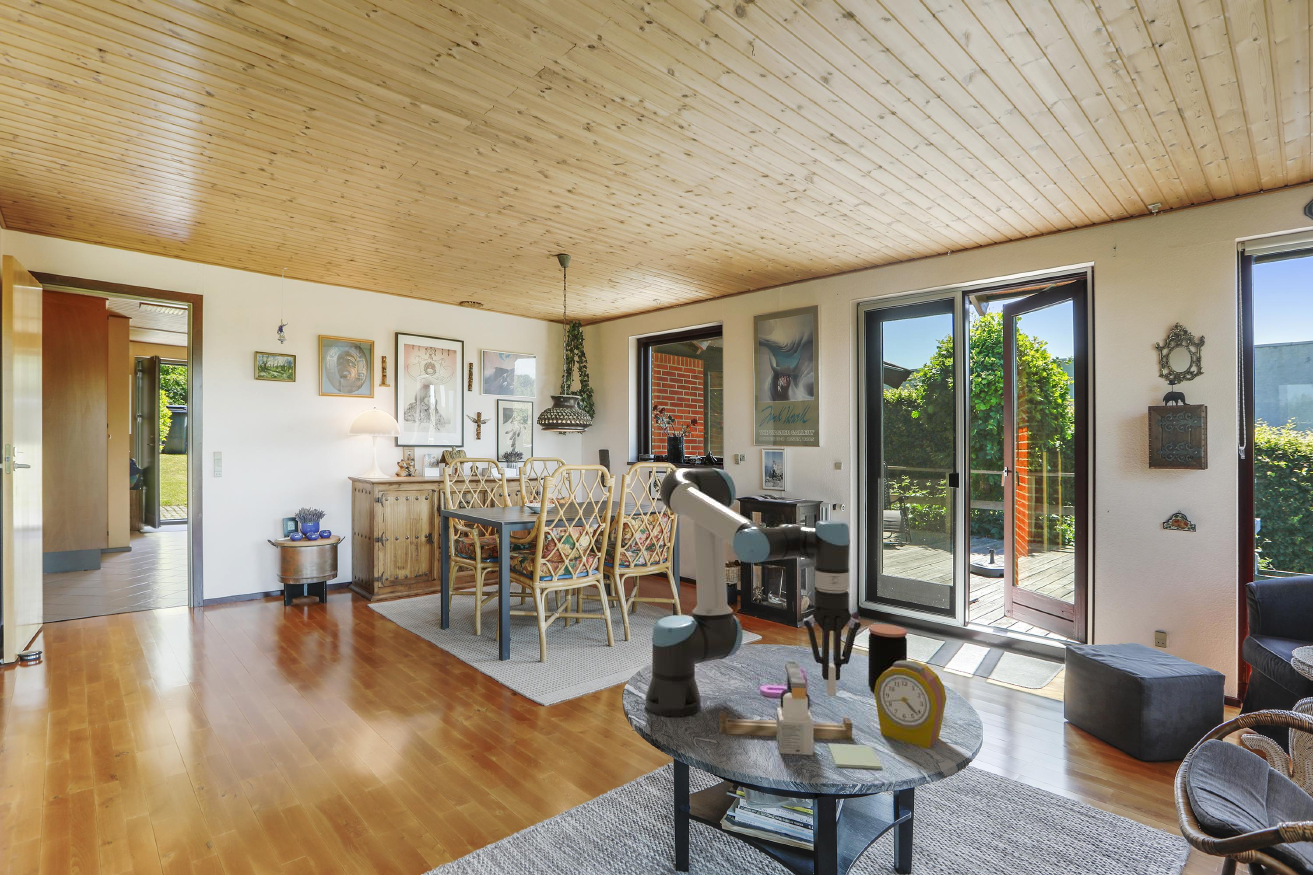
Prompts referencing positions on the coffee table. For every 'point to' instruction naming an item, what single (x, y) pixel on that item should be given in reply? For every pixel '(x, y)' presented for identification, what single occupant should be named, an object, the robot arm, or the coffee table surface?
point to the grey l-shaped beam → (795, 680)
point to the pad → (854, 756)
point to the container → (794, 725)
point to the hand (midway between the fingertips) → (830, 693)
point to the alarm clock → (910, 703)
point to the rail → (770, 728)
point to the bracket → (777, 688)
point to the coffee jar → (885, 649)
